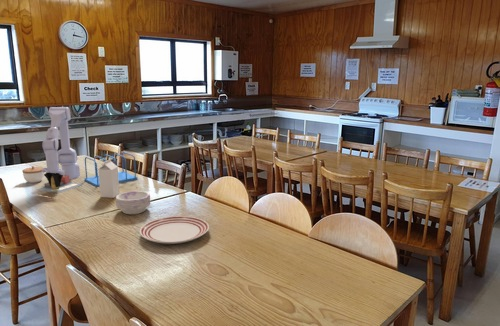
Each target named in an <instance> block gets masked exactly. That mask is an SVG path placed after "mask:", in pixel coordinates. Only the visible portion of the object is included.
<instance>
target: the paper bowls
mask: <svg viewBox="0 0 500 326" xmlns="http://www.w3.org/2000/svg"><path fill="white" fill-rule="evenodd" d="M115 204H116V209H118V210H121V212H122V213H124V214H126V215H137V214H141V213H143V212H145V211H146V209H147V208H148V207H150V205H151V195H150V193H149V192H147V191H142V190H131V191H126V192H121V193H119V194H118V195H117V196H116V197H115Z"/></svg>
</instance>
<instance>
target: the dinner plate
mask: <svg viewBox="0 0 500 326" xmlns="http://www.w3.org/2000/svg"><path fill="white" fill-rule="evenodd" d="M209 229H210V225H209V223H208V222H207V221H206V220H204V219H201V218H198V217H194V216H187V215H177V216H173V215H172V216H166V217H162V218H157V219H153V220H151V221H148V222H146V223H144V224H143V225H142V226H141V227H140V229H139V234H140V236H141V237H142V238H143V239H145V240H147V241H150V242H153V243H158V244H166V245H167V244H168V245H171V244H172V245H175V244H176V245H177V244H182V243H186V242H187V243H188V242H190V241H194V240H196V239H198V238H201V237H202V236H204V235H205V234H206V233H207V232H208V231H209Z"/></svg>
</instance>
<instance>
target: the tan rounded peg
mask: <svg viewBox="0 0 500 326" xmlns="http://www.w3.org/2000/svg"><path fill="white" fill-rule="evenodd" d="M51 186H52V190H57V189H59V187H56V186H55V181H54V178H53V177H52V178H51Z"/></svg>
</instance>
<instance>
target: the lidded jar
mask: <svg viewBox="0 0 500 326" xmlns="http://www.w3.org/2000/svg"><path fill="white" fill-rule="evenodd" d="M42 168H43V167H41V166H40V167H39V166H33V165H32V166H31V167H28V168H24V169H22V175H23V179H24V180H25V181H26V182H27V183H28V184H33V183H39V182H41V181H42V180H43V179H44V177H45V176H44V174H45V172H42Z"/></svg>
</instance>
